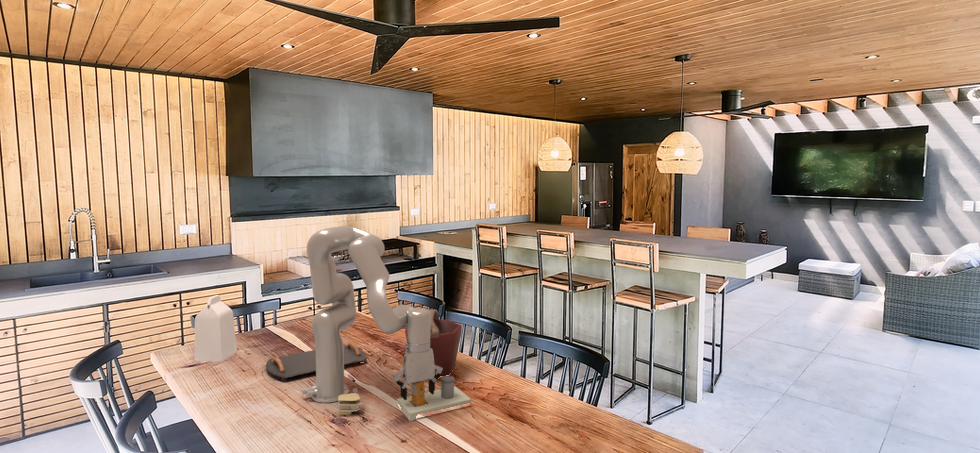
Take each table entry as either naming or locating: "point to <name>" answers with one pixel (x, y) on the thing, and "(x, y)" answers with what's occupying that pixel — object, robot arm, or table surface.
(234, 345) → the milk
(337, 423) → the table surface
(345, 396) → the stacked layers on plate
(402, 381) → the robot arm
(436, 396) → the caddy
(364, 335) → the table surface
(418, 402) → the supplement box
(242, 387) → the table surface
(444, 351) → the bucket
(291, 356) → the serving board
